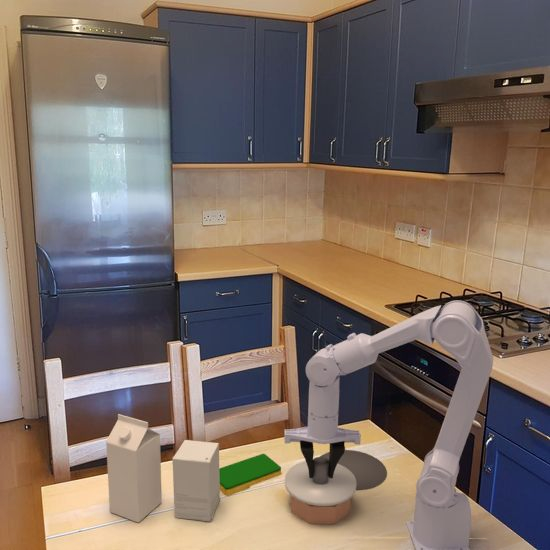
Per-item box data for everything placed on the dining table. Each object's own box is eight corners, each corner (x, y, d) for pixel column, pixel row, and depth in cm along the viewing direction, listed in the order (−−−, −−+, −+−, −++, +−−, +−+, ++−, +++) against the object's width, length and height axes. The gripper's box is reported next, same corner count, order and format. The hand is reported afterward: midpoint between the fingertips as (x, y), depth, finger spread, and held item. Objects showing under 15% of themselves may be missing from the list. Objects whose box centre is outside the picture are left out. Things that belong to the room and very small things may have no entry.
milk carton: (133, 493, 113) (130, 406, 109) (162, 503, 110) (159, 414, 106) (109, 512, 107) (104, 422, 103) (138, 523, 104) (135, 430, 100)
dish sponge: (281, 477, 120) (282, 467, 120) (226, 498, 113) (226, 487, 112) (263, 462, 126) (263, 452, 126) (209, 481, 118) (209, 471, 118)
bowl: (344, 489, 116) (345, 472, 115) (352, 525, 104) (353, 507, 103) (289, 489, 115) (289, 471, 115) (291, 525, 104) (292, 506, 103)
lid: (351, 463, 116) (352, 443, 115) (361, 506, 102) (362, 483, 101) (284, 463, 116) (284, 442, 115) (285, 505, 102) (285, 482, 101)
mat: (379, 451, 131) (379, 450, 130) (394, 492, 115) (394, 490, 115) (311, 450, 130) (311, 449, 130) (317, 491, 115) (317, 489, 115)
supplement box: (220, 499, 112) (220, 442, 109) (210, 523, 104) (209, 462, 102) (185, 495, 113) (184, 438, 110) (172, 518, 106) (171, 458, 103)
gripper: (358, 402, 109) (354, 464, 112) (284, 401, 109) (283, 463, 112) (363, 419, 103) (360, 484, 105) (285, 418, 102) (284, 483, 105)
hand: (320, 475), depth 108 cm, fingers closed on lid, 3 cm apart
